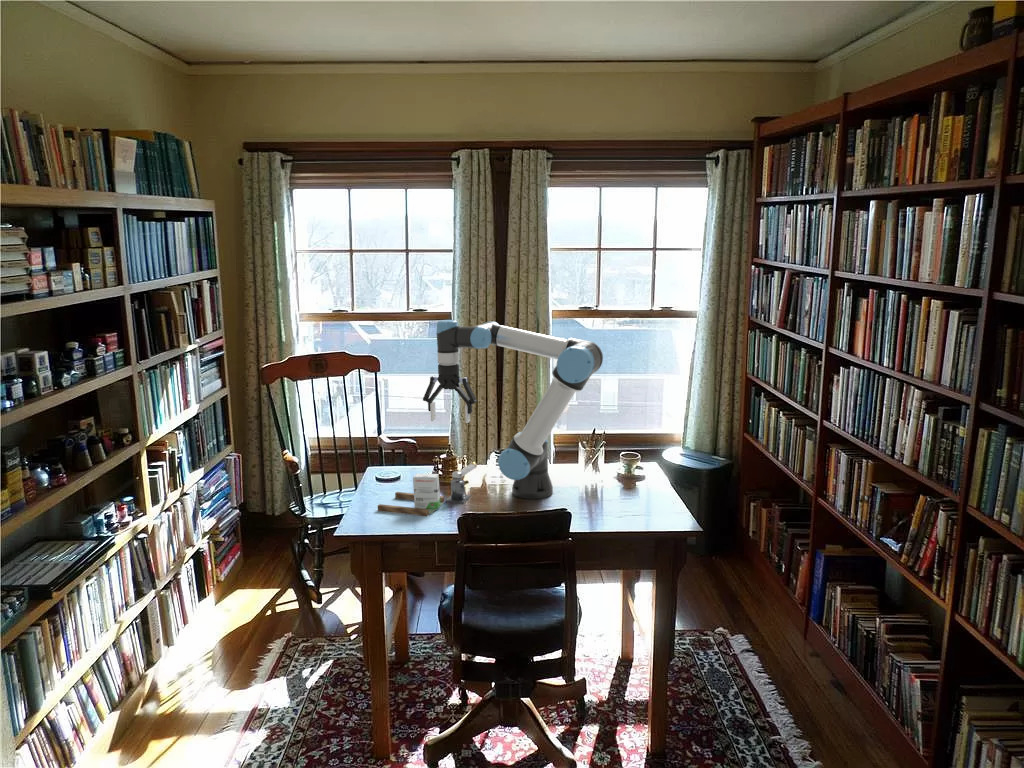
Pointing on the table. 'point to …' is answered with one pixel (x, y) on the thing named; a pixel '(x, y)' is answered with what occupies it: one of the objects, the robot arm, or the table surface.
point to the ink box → (426, 491)
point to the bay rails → (405, 509)
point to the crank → (463, 471)
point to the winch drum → (458, 492)
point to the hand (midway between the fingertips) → (450, 421)
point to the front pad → (434, 509)
